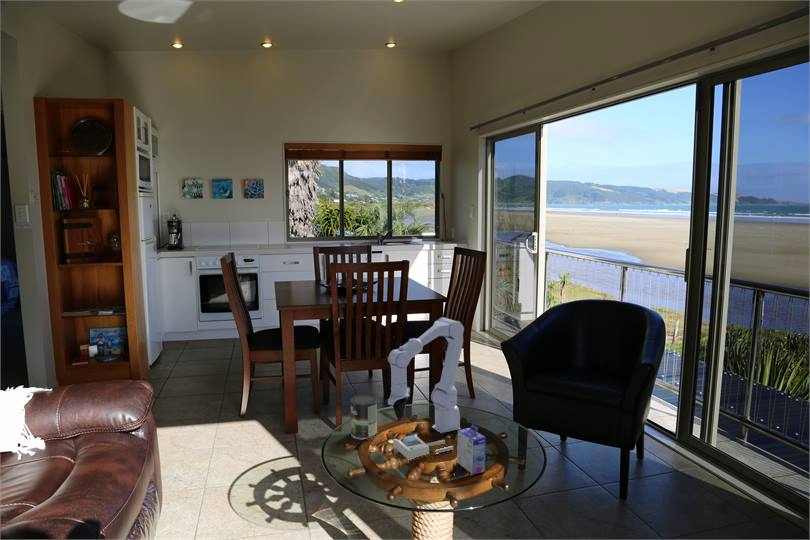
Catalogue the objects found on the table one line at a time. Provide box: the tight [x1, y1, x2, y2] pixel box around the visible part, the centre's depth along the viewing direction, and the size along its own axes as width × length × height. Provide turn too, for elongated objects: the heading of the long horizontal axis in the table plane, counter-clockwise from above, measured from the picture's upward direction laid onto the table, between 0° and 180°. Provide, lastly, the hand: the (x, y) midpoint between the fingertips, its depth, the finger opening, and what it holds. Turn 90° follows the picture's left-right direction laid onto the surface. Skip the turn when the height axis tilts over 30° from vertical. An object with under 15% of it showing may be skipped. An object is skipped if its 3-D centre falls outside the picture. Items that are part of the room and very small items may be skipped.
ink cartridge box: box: [456, 424, 487, 475], centre depth 194 cm, size 10×6×14 cm, turn 27°
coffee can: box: [349, 394, 378, 441], centre depth 222 cm, size 10×10×14 cm
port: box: [392, 434, 430, 461], centre depth 206 cm, size 10×11×4 cm
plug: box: [403, 434, 418, 447], centre depth 207 cm, size 4×5×5 cm
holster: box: [426, 439, 454, 453], centre depth 208 cm, size 7×7×2 cm
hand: (399, 417), depth 214 cm, fingers closed
